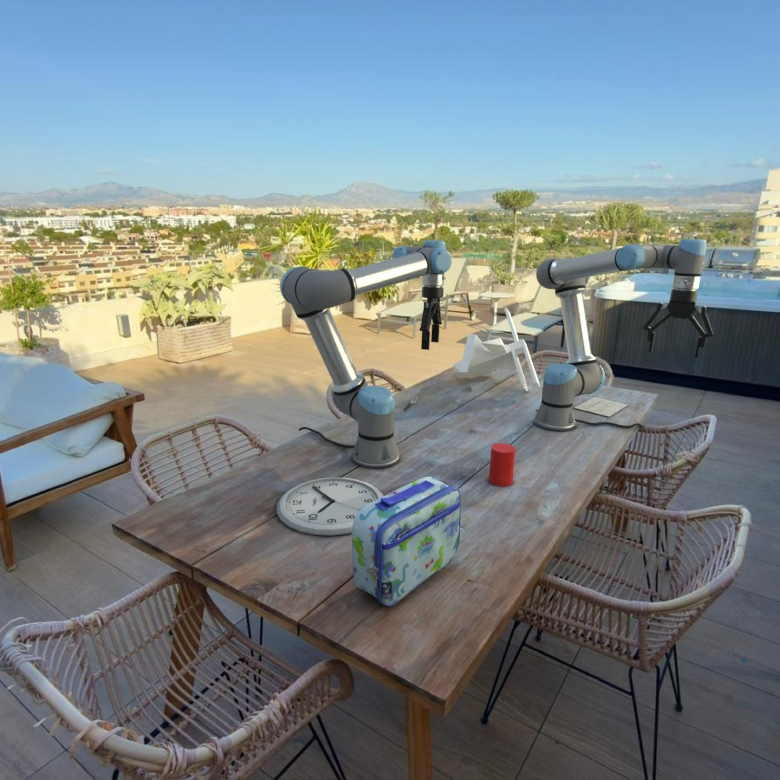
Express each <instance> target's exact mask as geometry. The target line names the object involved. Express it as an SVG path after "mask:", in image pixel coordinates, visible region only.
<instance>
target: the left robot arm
mask: <svg viewBox="0 0 780 780" xmlns="http://www.w3.org/2000/svg"><path fill="white" fill-rule="evenodd" d="M452 259H453V258H452V255H451V253H450V251H448V249H447V248H446V242H445V241H444V240H437V239H436V240H431V239H430V240H429V239H428V240H427V239H426V240H425V241H424V242H423V245H422V246H413V245H412V246H411V245H409V246H407V245H403V246H402V245H401V246H397V247H395V248H394V250H393V251H392V257H391V258H390V259H386V260H382V261H379V262H375V263H372V264H368V265H364V266H360V267H357V268H354V269H347V268H346V267H343V268H339V269H334V270H333V269H332V270H331V269H330V270H327V269H326V270H325V269H317V268H311V267H308V266H294V267H292V268H289V269H288V270H287V271H285V272H284V274H283V276H282V277H281V280H280V285H279V289H280V293H281V296H282V298H283V299H284V300H285V301H286V302H287V303H288V304H290V305H291V307H292V309H293V311H294V313H295V315H296V318H297V319H299V320H301V321H304V323H305V325H306V327H307V329H308V332H309V333H310V336H311V339H312V340H313V342H314V344H315V346H316V349H317V351H318V353H319V355H320V357H321V359H322V362H323V363H324V365H325V367H326V370H327V372H328V374H329V376H330V378H331V381H332V383H331V386H330V388H331V391H332V393H331V394H332V395H331V396H332V397H331V398H332V402H333V404H334V406H335V407H336V408H337V409H338V410H339V411H340V412H341V413H343V414H344V415H347V416H348V417H350V418H351V419H353V420H355V421H356V422H357V439H356V442H355V445H353V444H352V445H349V444H345V443H339V442H337V441H334V440H331V439H329V438H327V437H326V436H325V435H324V434H323V433H321V432H320V431H318V430H315V429H314V428H311V427H308V426H301V427H299V428H298V431H299V432H300V431H302V430H307V431H309V432H312V433H315V434H316V435H318V436H320V438H322V439H323V440H324V441H326V442H328V443H331V444H333V445H335V446H339V447H343V448H347V449H353V451H352V461H353V462H354V463H355V464H356V465H358V466H361V467H364V468H369V469H383V468H389V467H391V466H394V465H396V464H398V462H399V460H400V452H399V447H398V445H397V442H396V439H395V408H396V400H395V395H394V393H393V392H392V391H391V390H390V389H389V388H387V387H384V386H380V385H368V382H367V380H366V378H365V376H364V374H363V372H361V371H358V370H357V368H356V367H355V364H354V362H353V359H352V357H351V355H350V353H349V351H348V348H347V345H346V344H345V341H344V339H343V337H342V334H341V332H340V329H339V328H338V326H337V323H336V321H335V318H334V316H333V314H332V312H331V310H330V309H331V308H335V307H338V306H341V305H344V304H347V303H351V302H353V301H355V300H356V298H357V297H358V296H362V295H365V294H367V293H371V292H375V291H378V290H381V289H385V288H388V287H390V286H394V285H398V284H401V283H404V282H408V281H411V280H414V279H417V278H421V277H422V281H421V283H422V287H421V297H422V298H424V299H426V301H424V302H423V309H422V316H421V321H420V328H419V332H421V343H420V345H421V346H420V347H421V348H420V349H421V350H424V351H429V350H430V343H436V344H437V343H439V342H440V327H441V325H443V322H442V313H441V299H443V298H444V289H445V288H444V287H443V286H444V284H445V280H446V276H445V273H447V272H448V271H449V270H450V268H451V266H452ZM430 330H431V331H430Z"/></svg>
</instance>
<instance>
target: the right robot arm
mask: <svg viewBox="0 0 780 780" xmlns="http://www.w3.org/2000/svg"><path fill="white" fill-rule="evenodd" d="M707 244H708V243H707V240H706V239H702V238H701V239H697V238H696V239H695V238H682V239H680V241H679V244H675V245H674V244H660V243H651V244H637V243H632V244H626V245H623V246H622V247H619V248H614V249H609V250H604V251H600V252H599V251H598V252H595V253H591V254H586V255H581V256H576V257H565V258H561V257H558V258H549V259H545V260H544V261H542V262H540V263H539V265H538V267H537V268H536V272H535V278H536V281H537V282H538V284H539V285H540V286H541V287H542V288H544V289H547V290H554V294H555V297H557V298H558V299H559V301H560V308H561V314H562V321H563V327H564V333H565V335H564V336H565V341H566V348H567V355H568V359H567V361H566V362H565V363H554V364H550V365H548V366H547V367H546V368H545V370H544V375H543V378H542V379H543V381H542V382H543V383H542V392H541V402H540V405H539V407H538V409H535V416H534V424H535V425H536V426H537V427H539V428H542V429H544V430H549V431H556V432H567V431H572V430H574V429H575V428H576V423H580V424H584V425H588V426H601V425H607V426H608V425H609V426H614V427H617V428H621V429H632V428H634V427H639V428H642V429H643V428H644V426H643V424H641V423H639V422H635V423H633V424H630V425H624V424H618V423H614V422H610V421H599V422H590V421H587V420H582V419H576V418H575V417H576V416H575V413H574V407H573V405H574V398H575V397H579V396H584V395H585V396H586V395H591V394H593V393H596V392H598V391H600V390H601V389H602V388H603V386H604V385H605V382H606V372H605V370H604V368H603V367H602V365H601V364H598V361H597V359H598V358H596V357H595V356H594V355H593V353H592V349H591V341H590V335H589V334H590V333H589V327H588V322H587V321H588V320H587V315H586V307H585V301H584V294H585V293H586V291H587V286H586V285H587V284H588V283H589V280H590V279H591V278H592V277H597V276H602V275H603V276H604V275H608V274H613V273H620V272H627V271H632V270H641V269H646V270H647V269H665V270H667V269H668V270H674V273H673V278H672V279H673V280H672V285H671V287H672V288H673V289H671V290H670V295H669V301H668V303H665V302H664V303H663V302H662V301H660V302H659V303H658V304H657V306H656V309H655V311H654V312H653V314H652V315H651V316H650V317H649V319H648V320H647V322H645V324H644V326H643V327H642V329H643V330H644V331H646V332H647V337H646V338H647V339H646V341H647V342H649V348H648V353H652V352H653V349H654V343H655V338H656V337H655V336H656V331H655V330H656V329H657V328H658V327H660V326H661V325H662V324H664V323H665V322H666V321H668V320H669V319H670V318H671V317H672V318H673V319H681V320H686V319H688V320H689V321H690V323H691V324H692V325H693V327H694V329H696V331H697V332H698V334H699V336H698V339H697V344H696V349H695V353H694V354H695V355H694V358H695V359H698V358H699V353H700V349H701V348H702V349H703V348H704V347H705V343H706V340H707V338H711V337H713V336H714V331H713V329H712V325H711V323H710V320H709V317H708V315H707V305H701V306H697V299H698V294H699V291H698V289H699V288H700V284H701V278H702V271H703V266H704V263H705V258H706V256H707V255H706V252H707ZM664 309H667V311H668V313H666V314H665V316H663V317H662V318H661V319H660V320H659V321H657V322H655V324H653V325H652V326H650V325H651V324H652V323H653V322H654V320H655V319H656V318H657V317H658V316H659V314H660V312H661V311H663V310H664ZM696 311H698V314H700V315H701V318H702V321H703V324H704V327H705V329H706V331H705V330H704V329H703V328H702V325H700V323H699V322H698V320H697V319H696V318H695V316H694V313H695V312H696Z"/></svg>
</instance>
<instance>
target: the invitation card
mask: <svg viewBox="0 0 780 780" xmlns="http://www.w3.org/2000/svg"><path fill="white" fill-rule="evenodd" d="M628 406H629V404H627V403H623V402H618V401H614V400H609V399H605V398H601V397H596V396H593V397H592V398H590V399H588V400H586V401H584V402H582V403H580V404H578V405H575V406H574V407H573V409H575V410H581V411H584V412H587V413H593V414H596V415H600V416H604V417H608V418H609V417H611V416H613V415H614V414H616V413H617V412H619V411H621V410H623V409H624V408H626V407H628Z"/></svg>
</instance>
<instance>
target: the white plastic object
mask: <svg viewBox="0 0 780 780" xmlns="http://www.w3.org/2000/svg"><path fill="white" fill-rule="evenodd" d="M503 310H504V313H505V316H506V319H507V322H508V325H509V328H510V332H511V335H512V338H513V342H511V343H508V344H505V343H504V341H503V340H502V338H500V337H499V338H498V337H497V338H495V339H490V340H489V339H488V340H485V341H482V340H481V339H480V337H479V336H478V335H477V334H476V333H475V334H474V333H473V334H472V333H471V334H470V333H469V334H467V338H466V340H465V341H466V342H465V345H464V351H463V355H462V359H461V360H460V361H457V362H455V363H453V364H452V366H453V370H454V374H455V375H456V377H457V378H458V379H466V378H474V377H475V378H476V377H483V376H485V377H490V376H493V375H495V372H497V370H499V369H500V368H502V367H503V366H504V365H506V364H507V363H509V362H510V361H511V360H513V362H514V365H515V368H516V371H517V374H518V377H519V381H520V384H521V385H522V387H523V388H524V390H525V391H526V392H528V390H529V388H528V387H529V386H528V384H527V381H526V377H525V375H524V371H523V369H522V368H523V367H522V364H521V362H520V361H521V360H520V359H519V355H522V354H524V356H525V359H526V362H527V365H528V368H529V372H530V375H531V378H532V380H533V383H534V386H535V387H536V389H539V388H541V384H540V382H539V378H538V375H537V372H536V369H535V366H534V363H533V361H532V358H531V357H532V356H531V353H530V351H529V348H528V345H527V342H526V341H525V339H524V338H520V339H519V337H518V332H517V330H516V327H515V323H514V321H513V318H512V315H511V312H510V311H509V309H508V307H505V308H503Z"/></svg>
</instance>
